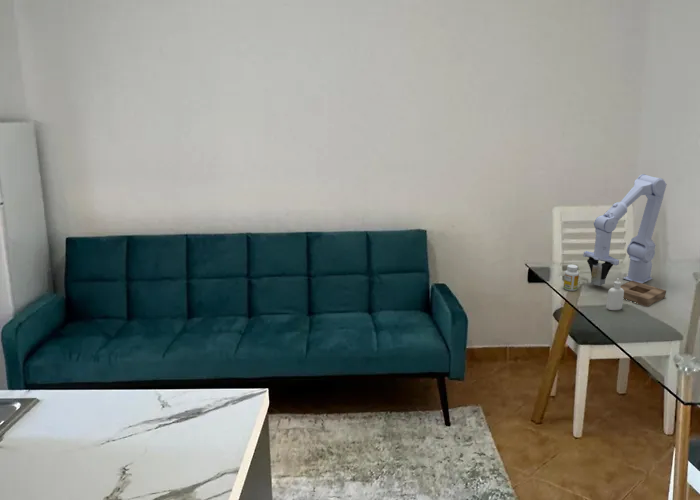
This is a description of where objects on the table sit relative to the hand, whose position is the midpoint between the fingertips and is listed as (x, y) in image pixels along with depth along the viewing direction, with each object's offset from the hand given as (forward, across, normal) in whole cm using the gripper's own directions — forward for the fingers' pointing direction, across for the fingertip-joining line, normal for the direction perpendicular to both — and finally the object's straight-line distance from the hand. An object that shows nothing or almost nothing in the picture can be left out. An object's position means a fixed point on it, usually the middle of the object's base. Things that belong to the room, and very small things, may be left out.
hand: (598, 277), depth 261 cm
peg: (+3, 0, 0) cm, 3 cm away
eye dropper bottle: (+4, +16, -15) cm, 22 cm away
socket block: (+4, +16, +3) cm, 17 cm away
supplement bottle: (+4, -6, -10) cm, 13 cm away
